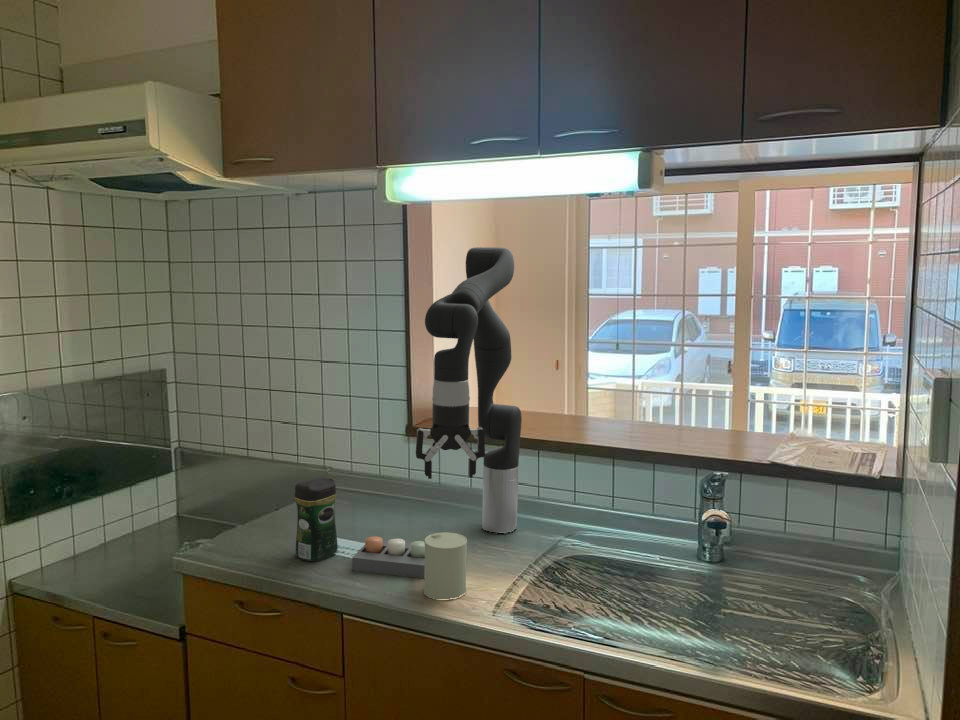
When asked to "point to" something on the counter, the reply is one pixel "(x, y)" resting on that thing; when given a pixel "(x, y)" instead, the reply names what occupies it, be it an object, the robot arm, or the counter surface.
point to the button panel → (389, 562)
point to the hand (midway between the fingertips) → (450, 477)
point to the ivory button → (396, 547)
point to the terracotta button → (374, 544)
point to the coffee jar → (316, 519)
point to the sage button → (417, 549)
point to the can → (445, 565)
